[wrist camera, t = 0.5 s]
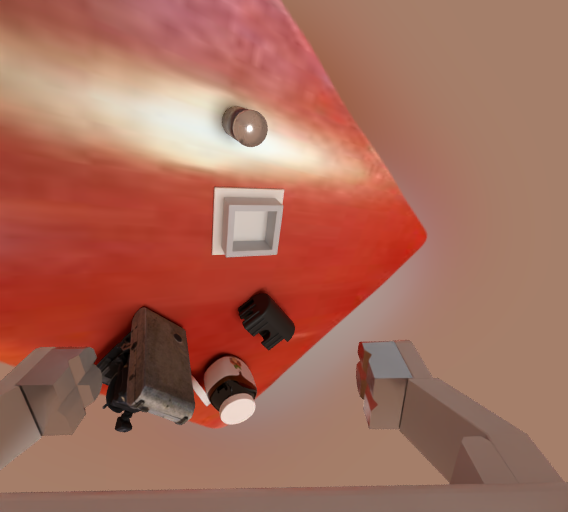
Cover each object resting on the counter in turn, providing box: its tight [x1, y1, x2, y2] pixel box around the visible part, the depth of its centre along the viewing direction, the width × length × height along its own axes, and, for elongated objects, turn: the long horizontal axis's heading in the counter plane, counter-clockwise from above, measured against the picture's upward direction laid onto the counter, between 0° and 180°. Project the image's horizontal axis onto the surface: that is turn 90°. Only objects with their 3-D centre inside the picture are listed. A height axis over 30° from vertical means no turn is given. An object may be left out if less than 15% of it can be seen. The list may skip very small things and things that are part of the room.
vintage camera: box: [96, 307, 195, 432], centre depth 52 cm, size 10×16×20 cm, turn 129°
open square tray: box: [212, 187, 284, 257], centre depth 55 cm, size 12×12×5 cm
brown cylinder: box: [222, 106, 268, 147], centre depth 45 cm, size 4×4×8 cm
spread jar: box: [192, 355, 257, 424], centre depth 66 cm, size 12×11×12 cm
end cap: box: [238, 293, 295, 350], centre depth 65 cm, size 10×7×7 cm
